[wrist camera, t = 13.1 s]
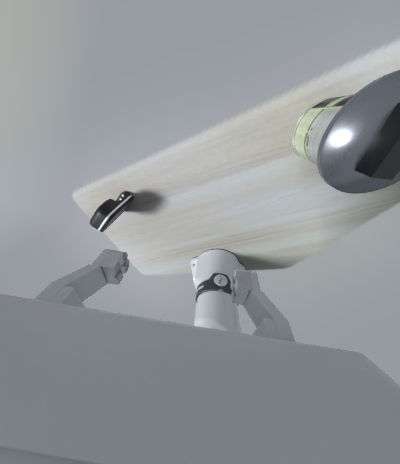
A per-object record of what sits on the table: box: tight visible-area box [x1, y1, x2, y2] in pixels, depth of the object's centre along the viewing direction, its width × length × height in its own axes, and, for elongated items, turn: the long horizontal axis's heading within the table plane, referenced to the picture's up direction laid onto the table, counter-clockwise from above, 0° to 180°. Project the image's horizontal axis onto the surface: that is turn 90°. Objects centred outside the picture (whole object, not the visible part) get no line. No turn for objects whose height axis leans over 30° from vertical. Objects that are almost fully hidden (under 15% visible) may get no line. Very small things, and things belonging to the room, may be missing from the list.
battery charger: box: [90, 192, 133, 232], centre depth 41 cm, size 7×4×11 cm, turn 137°
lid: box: [317, 70, 400, 193], centre depth 19 cm, size 13×13×4 cm
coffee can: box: [292, 95, 354, 165], centre depth 26 cm, size 10×10×14 cm
